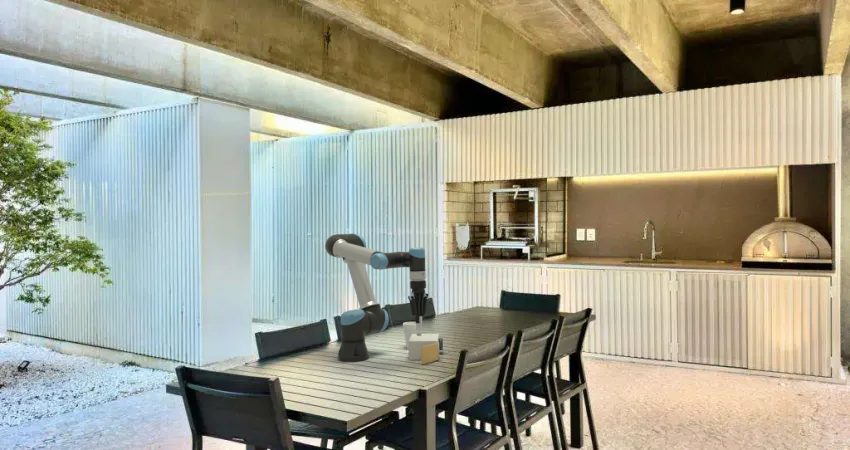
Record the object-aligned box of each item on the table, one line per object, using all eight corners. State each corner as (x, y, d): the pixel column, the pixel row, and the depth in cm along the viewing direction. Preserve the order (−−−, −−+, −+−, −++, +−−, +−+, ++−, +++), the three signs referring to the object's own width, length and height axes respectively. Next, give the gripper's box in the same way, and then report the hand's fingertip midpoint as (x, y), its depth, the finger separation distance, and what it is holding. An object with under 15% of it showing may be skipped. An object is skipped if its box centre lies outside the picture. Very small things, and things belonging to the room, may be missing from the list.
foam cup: (422, 345, 324) (421, 321, 324) (420, 349, 315) (419, 324, 315) (404, 345, 325) (404, 321, 325) (402, 349, 315) (401, 324, 316)
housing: (442, 359, 289) (441, 339, 289) (409, 359, 290) (408, 339, 290) (443, 351, 309) (442, 332, 309) (412, 351, 310) (411, 332, 310)
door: (440, 359, 288) (439, 342, 288) (423, 364, 278) (423, 347, 278) (437, 359, 289) (437, 342, 289) (421, 364, 279) (421, 346, 279)
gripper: (415, 281, 277) (417, 332, 277) (432, 279, 287) (434, 328, 287) (403, 281, 282) (404, 331, 282) (420, 278, 292) (421, 327, 292)
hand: (419, 329), depth 284 cm, fingers closed
